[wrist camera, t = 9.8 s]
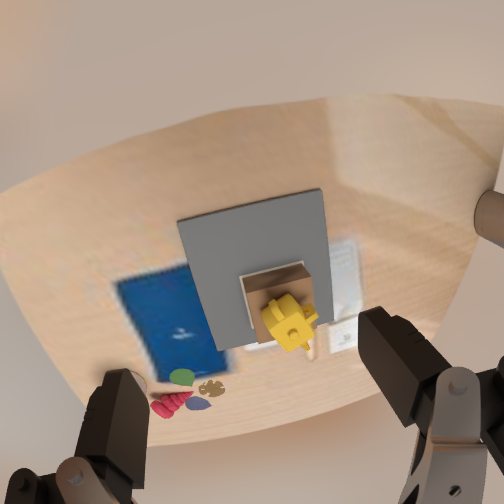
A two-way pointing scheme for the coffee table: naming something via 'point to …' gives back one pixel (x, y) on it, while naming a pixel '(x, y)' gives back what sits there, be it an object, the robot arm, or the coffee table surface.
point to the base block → (276, 293)
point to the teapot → (290, 322)
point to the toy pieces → (185, 395)
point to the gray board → (255, 258)
